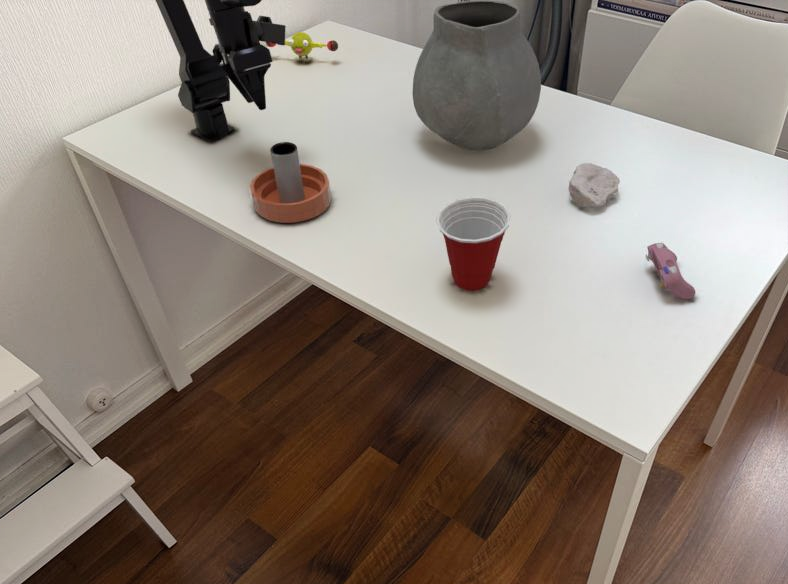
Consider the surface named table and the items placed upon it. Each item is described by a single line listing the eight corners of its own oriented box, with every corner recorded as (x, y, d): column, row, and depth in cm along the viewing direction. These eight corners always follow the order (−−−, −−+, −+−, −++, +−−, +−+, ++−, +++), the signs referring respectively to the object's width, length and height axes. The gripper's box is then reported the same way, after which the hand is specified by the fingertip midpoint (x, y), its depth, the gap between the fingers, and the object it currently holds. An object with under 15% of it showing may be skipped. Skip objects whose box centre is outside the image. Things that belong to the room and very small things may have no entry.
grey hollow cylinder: (300, 209, 118) (291, 156, 111) (276, 206, 119) (265, 153, 112) (308, 195, 122) (300, 143, 114) (285, 192, 122) (275, 140, 115)
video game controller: (649, 270, 110) (638, 240, 105) (676, 259, 108) (667, 227, 104) (668, 310, 103) (658, 280, 98) (698, 299, 102) (689, 267, 97)
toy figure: (264, 64, 163) (259, 35, 158) (272, 55, 167) (267, 26, 162) (336, 69, 161) (333, 39, 156) (342, 59, 165) (339, 31, 160)
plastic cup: (425, 268, 107) (424, 204, 99) (485, 252, 110) (489, 189, 102) (453, 310, 101) (455, 245, 92) (516, 291, 104) (524, 227, 95)
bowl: (238, 207, 120) (234, 187, 117) (292, 175, 127) (289, 155, 124) (293, 234, 114) (289, 214, 111) (346, 198, 122) (344, 179, 119)
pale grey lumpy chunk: (627, 175, 122) (616, 180, 113) (613, 209, 125) (601, 216, 116) (582, 159, 124) (568, 162, 116) (570, 193, 127) (555, 199, 119)
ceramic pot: (496, 103, 148) (506, -22, 130) (556, 153, 133) (576, 20, 115) (395, 125, 141) (390, -3, 123) (446, 181, 126) (449, 43, 108)
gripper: (287, -3, 104) (315, 100, 113) (259, -4, 119) (285, 87, 128) (218, 14, 101) (252, 118, 110) (198, 11, 116) (229, 103, 125)
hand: (256, 105), depth 118 cm, fingers open, 9 cm apart
